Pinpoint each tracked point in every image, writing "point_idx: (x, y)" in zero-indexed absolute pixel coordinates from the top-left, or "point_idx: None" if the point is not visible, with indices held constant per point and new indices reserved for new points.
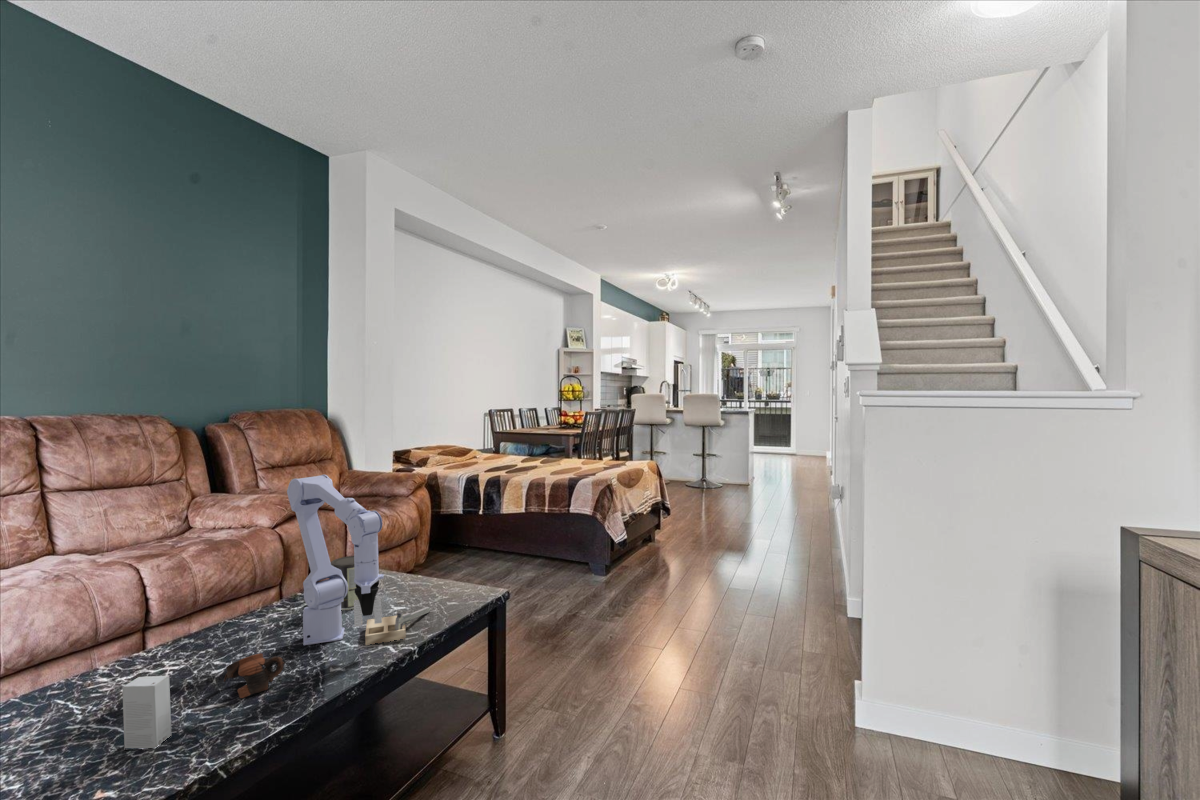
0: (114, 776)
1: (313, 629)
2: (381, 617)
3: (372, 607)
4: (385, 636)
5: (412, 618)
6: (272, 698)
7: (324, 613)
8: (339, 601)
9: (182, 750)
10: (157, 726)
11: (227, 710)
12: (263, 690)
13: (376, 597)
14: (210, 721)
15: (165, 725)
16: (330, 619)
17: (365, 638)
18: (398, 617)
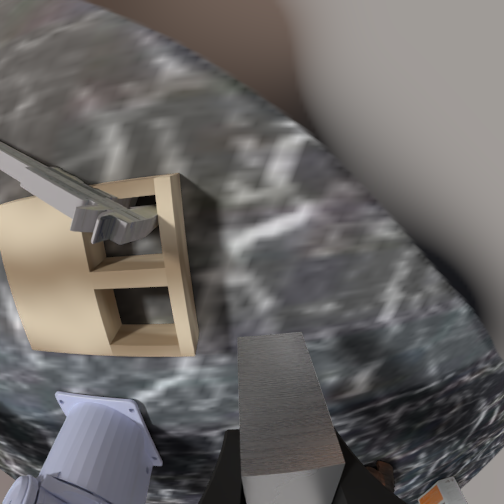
0: (472, 472)
1: (140, 477)
2: (308, 353)
3: (353, 454)
4: (185, 270)
5: (34, 160)
6: (421, 439)
7: (127, 501)
8: (69, 492)
9: (474, 455)
10: (460, 492)
11: (415, 470)
12: (387, 463)
13: (259, 494)
14: (431, 469)
15: (450, 491)
16: (123, 473)
17: (195, 349)
18: (111, 229)
